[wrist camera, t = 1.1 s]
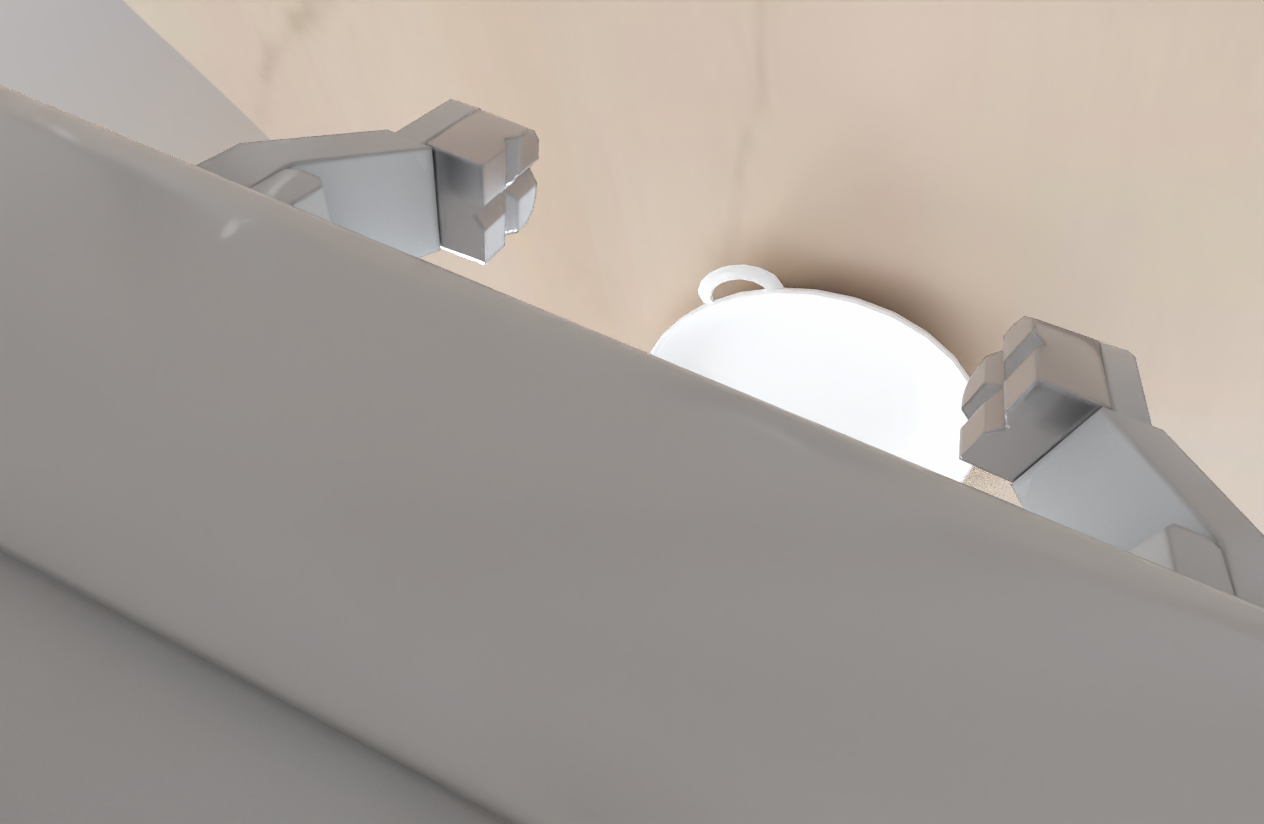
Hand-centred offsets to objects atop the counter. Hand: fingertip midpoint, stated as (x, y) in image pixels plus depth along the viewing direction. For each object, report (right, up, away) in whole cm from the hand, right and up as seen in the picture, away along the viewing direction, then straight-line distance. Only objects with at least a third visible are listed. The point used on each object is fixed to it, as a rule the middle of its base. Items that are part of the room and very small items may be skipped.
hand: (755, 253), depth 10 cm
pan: (+14, -1, +46) cm, 48 cm away
